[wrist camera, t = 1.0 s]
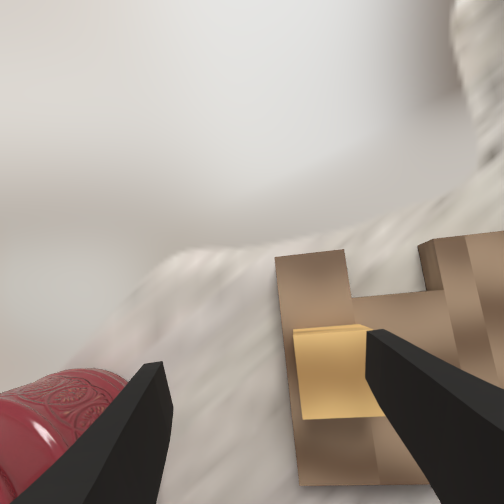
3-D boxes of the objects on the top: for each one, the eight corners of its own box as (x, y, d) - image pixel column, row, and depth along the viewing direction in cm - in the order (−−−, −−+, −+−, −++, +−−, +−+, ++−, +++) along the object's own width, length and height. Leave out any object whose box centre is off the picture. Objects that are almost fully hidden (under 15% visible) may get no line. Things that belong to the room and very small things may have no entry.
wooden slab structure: (724, 454, 17) (795, 480, 15) (298, 463, 21) (299, 485, 18) (642, 220, 20) (690, 209, 18) (276, 261, 23) (274, 257, 21)
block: (370, 394, 18) (387, 416, 15) (301, 397, 19) (302, 419, 16) (359, 324, 19) (373, 329, 16) (293, 329, 20) (293, 335, 16)
